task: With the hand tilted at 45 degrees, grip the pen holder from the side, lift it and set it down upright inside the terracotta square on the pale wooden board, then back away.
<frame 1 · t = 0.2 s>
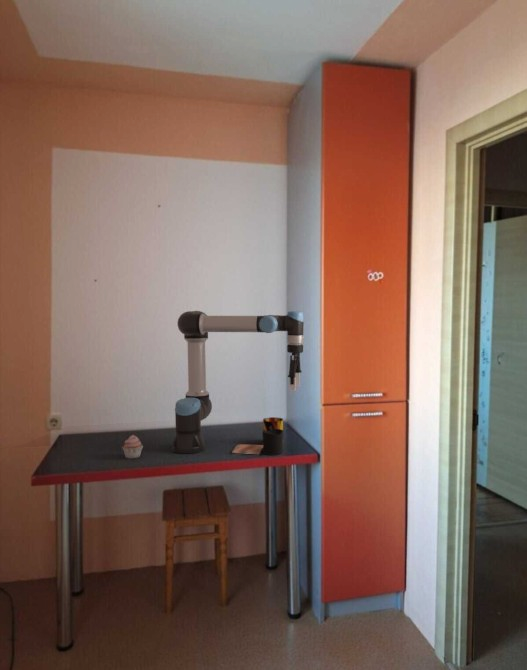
hand: (294, 388, 239), 28 cm above the table, tool pointing down, fingers open, 13 cm apart
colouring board: (248, 450, 233), on the table
pen holder: (273, 453, 230), on the table
cupcake: (133, 457, 225), on the table
mug: (274, 445, 243), on the table
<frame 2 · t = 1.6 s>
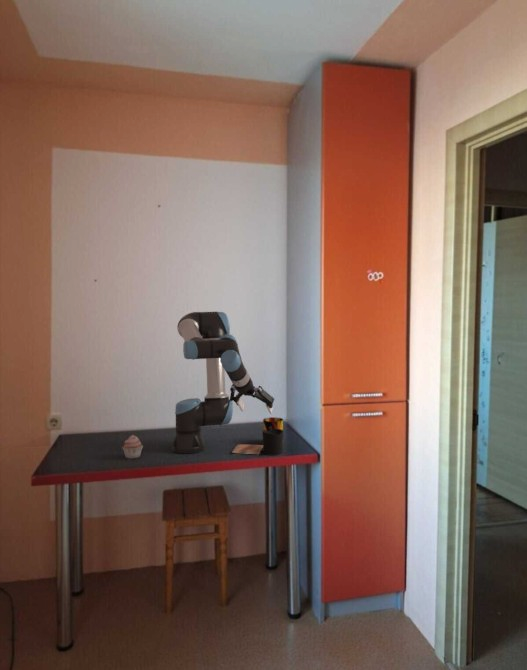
hand: (257, 409, 220), 22 cm above the table, tool tilted 45°, fingers open, 13 cm apart
nothing on the table moved.
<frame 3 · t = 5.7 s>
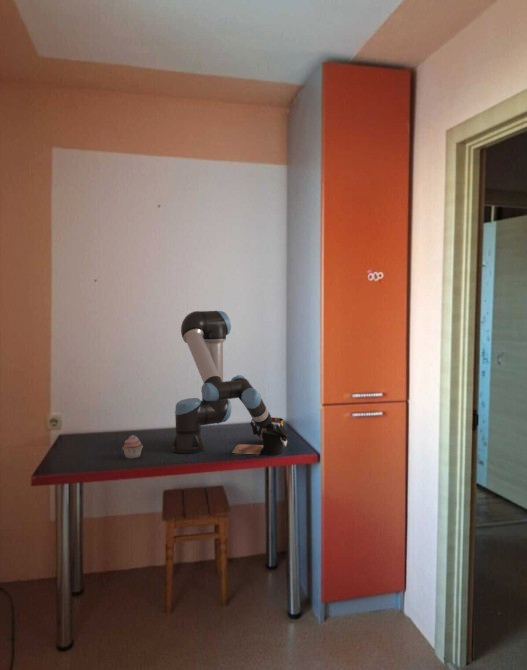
hand: (275, 442, 233), 4 cm above the table, tool tilted 45°, fingers closed on pen holder, 9 cm apart
pen holder: (273, 453, 230), on the table, touching gripper
mug: (274, 445, 242), on the table, touching gripper
everything else where it was.
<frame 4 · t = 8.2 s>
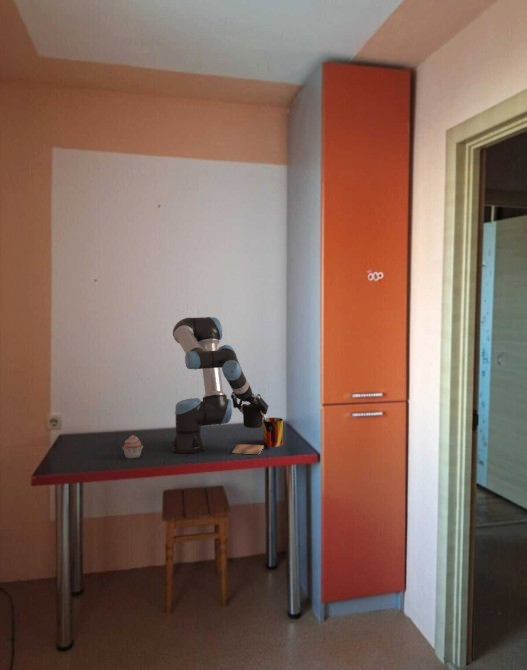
hand: (255, 416, 235), 16 cm above the table, tool tilted 45°, fingers closed on pen holder, 9 cm apart
pen holder: (253, 426, 232), point 12 cm above the table, touching gripper
mug: (274, 445, 242), on the table
everything else where it was.
when the fingers open (7 cm above the table, at t = 10.7 s): pen holder drops 1 cm, resting on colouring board.
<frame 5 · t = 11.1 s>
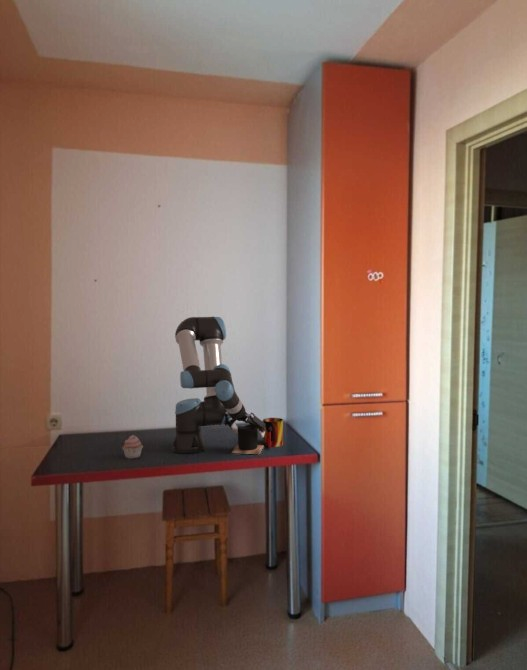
hand: (250, 433, 235), 8 cm above the table, tool tilted 45°, fingers open, 13 cm apart
pen holder: (247, 448, 233), point 1 cm above the table, touching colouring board
everything else where it was.
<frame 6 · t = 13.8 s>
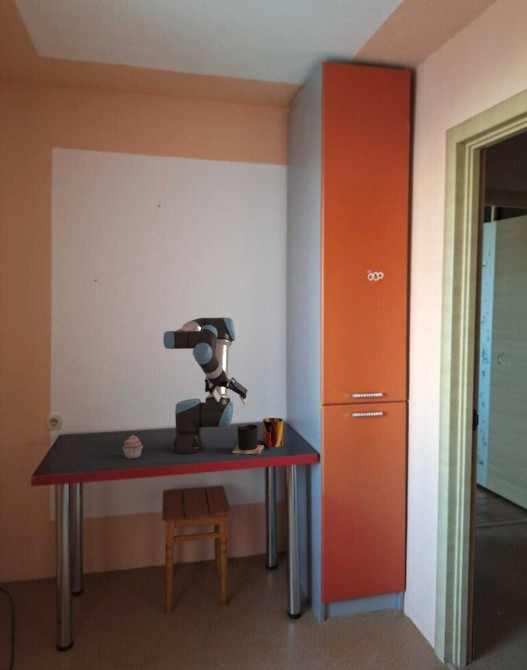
hand: (232, 400, 225), 25 cm above the table, tool tilted 45°, fingers open, 13 cm apart
nothing on the table moved.
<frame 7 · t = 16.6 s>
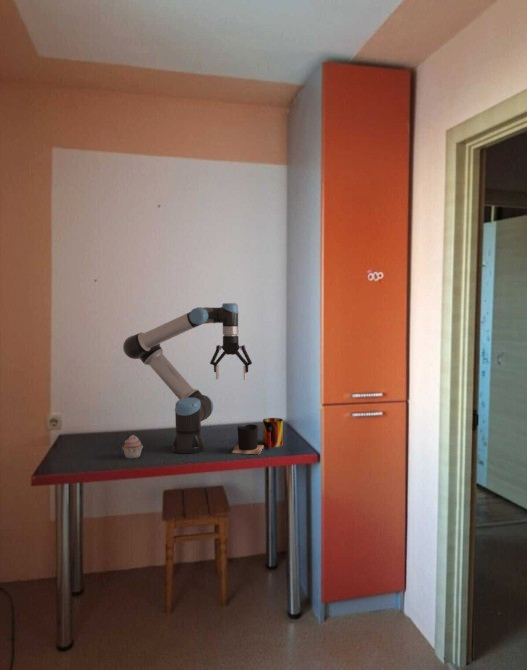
hand: (231, 379, 243), 32 cm above the table, tool pointing down, fingers open, 13 cm apart
nothing on the table moved.
at the end: pen holder inside the target area (0.2 cm from its centre), point 1.2 cm above the table; pen holder tilted 0°; the gripper is holding nothing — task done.
